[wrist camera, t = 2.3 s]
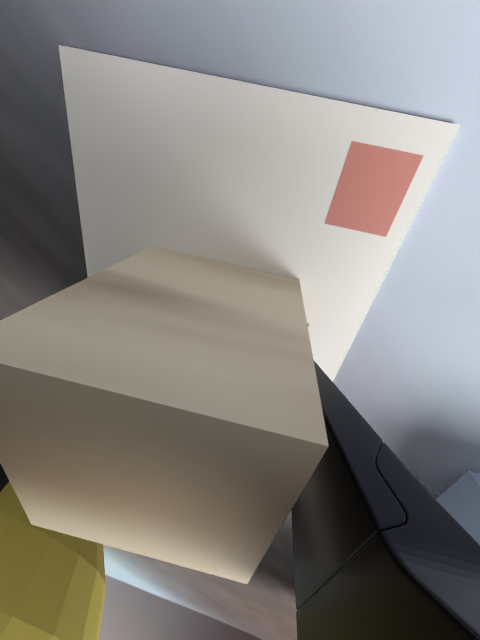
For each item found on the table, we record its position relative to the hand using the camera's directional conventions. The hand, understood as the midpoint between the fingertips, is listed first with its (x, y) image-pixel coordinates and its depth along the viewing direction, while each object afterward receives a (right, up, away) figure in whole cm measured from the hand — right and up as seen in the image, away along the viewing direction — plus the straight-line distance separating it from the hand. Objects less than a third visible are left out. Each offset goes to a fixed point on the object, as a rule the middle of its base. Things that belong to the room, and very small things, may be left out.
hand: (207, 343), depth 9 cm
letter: (0, +1, +1) cm, 1 cm away
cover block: (0, +1, +1) cm, 1 cm away
